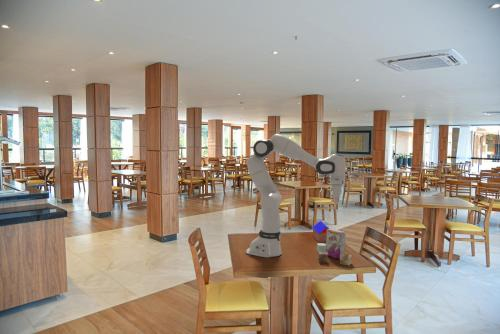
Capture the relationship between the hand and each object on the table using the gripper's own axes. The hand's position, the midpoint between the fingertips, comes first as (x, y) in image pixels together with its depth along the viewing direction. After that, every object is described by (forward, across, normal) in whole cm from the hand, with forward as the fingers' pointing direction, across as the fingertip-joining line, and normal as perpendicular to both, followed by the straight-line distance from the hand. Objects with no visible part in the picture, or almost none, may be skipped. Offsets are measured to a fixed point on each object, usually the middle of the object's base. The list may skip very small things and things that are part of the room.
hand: (337, 202), depth 211 cm
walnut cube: (+33, +13, -6) cm, 36 cm away
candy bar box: (+33, +2, 0) cm, 33 cm away
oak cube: (+33, +13, +7) cm, 36 cm away
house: (+34, -37, -12) cm, 51 cm away
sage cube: (+33, -5, -9) cm, 35 cm away
